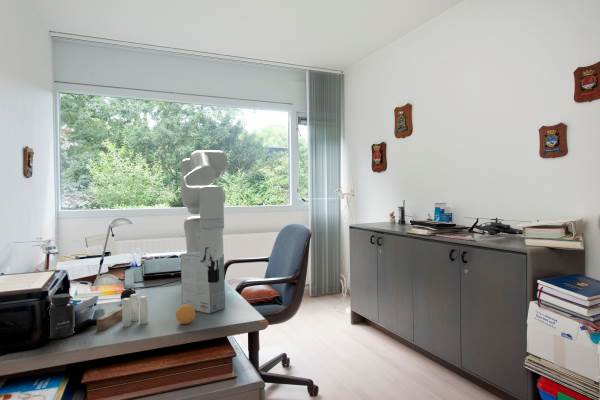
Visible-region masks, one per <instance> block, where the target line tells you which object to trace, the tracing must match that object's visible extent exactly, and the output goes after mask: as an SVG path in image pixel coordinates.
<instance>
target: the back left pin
mask: <svg viewBox="0 0 600 400" xmlns="http://www.w3.org/2000/svg"><path fill="white" fill-rule="evenodd" d="M121 306H122V320H121V321H122V323H121V325H122V327H123V328H127V327H130V326H132V323H131V322H132V321H131V303H130V298H124V299H122V300H121Z"/></svg>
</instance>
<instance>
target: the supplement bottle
mask: <svg viewBox="0 0 600 400" xmlns="http://www.w3.org/2000/svg"><path fill="white" fill-rule="evenodd" d="M71 299H72V298H71V293H61V294H60V293H57V294H54V295H52V296H51V300H50V303H51V305H49V306H50V309H49V315H50V338H51V340H59V339H60V340H61V339H64V338H69V337H71V336H72V335H74V334H73V333H75V331H74V327H75V304H74V303H72V302H71ZM50 338H49V339H50Z"/></svg>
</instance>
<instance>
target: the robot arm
mask: <svg viewBox="0 0 600 400" xmlns="http://www.w3.org/2000/svg"><path fill="white" fill-rule="evenodd" d="M228 159H229V158H228V157H227V154H226V153H225V152H224V151H222V150H213V149H212V150H211V149H210V150H207V149H202V150H195V151H193V152H192V153H191V154H190V155H189V157H188V158H184V159H183V160H181V162H180V170H181V171H180V172H181V174H182V176H183V178H182V181H181V184H180V194H181V196H180V197H181V203H182V204H183V206H184V207H185V208H187V211H188V214H191V215H192V216H190V217H187V218H186V219H185V220H184V222H183V229H184V235H185V245H186V253H190V252H200V261H201V262H203V261H205V260H206V266H207V270H208V282H209V283H217V282H218V281H219V261H220V258H221V257H222V256H223V254H224V238H223V237H224V235H223V232H224V229H225V215H224V214H225V213H224V212H225V206H224V205H225V203H226V199H227V198H226V197H227V196H226V191H225V190H224V189H223V187H222V186H220V185H212V184H213V183H214V181H215V179H221V178H223V176H224V175H225V173H226V171H227V169H228V166H229V163H228V162H229V161H228ZM194 215H195V216H194Z"/></svg>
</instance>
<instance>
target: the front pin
mask: <svg viewBox="0 0 600 400" xmlns="http://www.w3.org/2000/svg"><path fill="white" fill-rule="evenodd" d="M138 303H139V324H140V325H146V324H148V323H149V307H148V295H141V296H138Z"/></svg>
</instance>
